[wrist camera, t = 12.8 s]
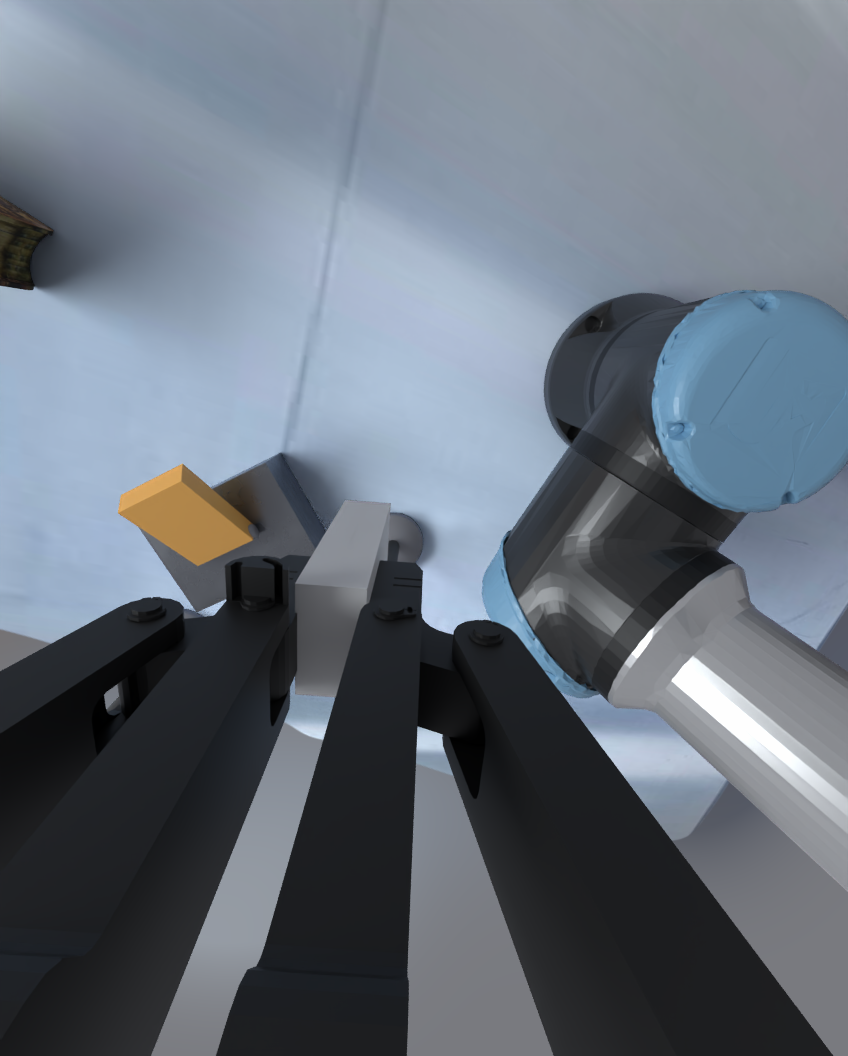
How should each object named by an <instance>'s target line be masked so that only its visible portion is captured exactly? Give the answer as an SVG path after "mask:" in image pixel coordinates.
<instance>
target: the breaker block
mask: <svg viewBox="0 0 848 1056" xmlns="http://www.w3.org/2000/svg"><path fill="white" fill-rule="evenodd" d="M211 489H213V490H214V491H215V492H216V493H217V494H219V495H220V496H221V497H222V498H223V499H224V500H226V501H227V502H228V503H229V504H230V505H231V506H233V507H234V508H235V509H236V510H237V511H238V512H240V513H241V514H242V515H243V516H244V517H245V518H247V519H248V520H249V521H250V522H251V523H252V524H254V525H255V526H256V527H257V529H258V531H259V538H257V539H254V540H252V541H250V542H248V543H246V544H244V545H242V546H240V547H237V548H235V549H233V550H231V551H229V552H227V553H225V554H223V555H220V556H218V557H216V558H214V559H212V560H210V561H208V562H206V563H204V564H201V565H199V566H197V565H195V564H194V563H192V562H191V561H189V560H188V559H186V558H185V557H183V556H182V555H180V554H179V553H177V552H176V551H174V550H173V549H171V548H170V547H168V546H167V545H165V544H164V543H162V542H161V541H159V540H158V539H156V538H155V537H153V536H152V535H150V534H149V533H147V532H146V531H144V530H143V529H141V528H140V527H139V529H140V530H141V532H142V533H143V534H144V536H145V537H146V539H147V540H148V542H149V543H150V545H151V546H152V548H153V549H154V551H155V552H156V553H157V555H158V556H159V558H160V559H161V561H162V562H163V564H164V565H165V567H166V568H167V570H168V571H169V572H170V574H171V575H172V577H173V578H174V580H175V581H176V583H177V584H178V586H179V587H180V589H181V590H182V591H183V593H184V594H185V596H186V597H187V599H188V600H189V602H190V603H191V605H192V606H193V608H194V609H195V610H196V612H199V611H201V610H203V609H205V608H207V607H209V606H212V605H214V604H216V603H218V602H220V601H223V600H225V599H226V581H225V565H226V564H227V563H229V562H230V561H232V560H235V559H239V558H242V557H249V556H270V557H277V558H279V559H281V558H283V557H285V556H287V555H299V556H312V554H313V553H314V551H315V549H316V548H317V546H318V544H319V543H320V541H321V539H322V538H323V536H324V534H325V533H326V532H325V530H324V528H323V526H322V524H321V523H320V521H319V519H318V517H317V516H316V514H315V512H314V510H313V509H312V507H311V505H310V503H309V502H308V500H307V498H306V496H305V495H304V493H303V491H302V489H301V487H300V486H299V484H298V482H297V480H296V479H295V477H294V475H293V473H292V472H291V470H290V468H289V466H288V465H287V463H286V461H285V459H284V457H283V456H282V454H281V453H279V454H277V455H275V456H273V457H271V458H269V459H267V460H265V461H263V462H261V463H259V464H257V465H255V466H253V467H251V468H249V469H247V470H245V471H243V472H241V473H239V474H237V475H235V476H233V477H231V478H229V479H227V480H225V481H223V482H221V483H219V484H217V485H215V486H213V487H211Z"/></svg>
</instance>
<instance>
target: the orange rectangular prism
mask: <svg viewBox="0 0 848 1056" xmlns="http://www.w3.org/2000/svg"><path fill="white" fill-rule="evenodd" d="M118 513H119V514H120V515H122V516H123V517H125V518H126V519H128V520H129V521H131V522H132V523H134V524H135V525H137V526H138V527H140V528H141V529H143V530H144V531H146V532H147V533H149V534H150V535H152V536H153V537H155V538H156V539H158V540H159V541H161V542H162V543H164V544H165V545H167V546H168V547H170V548H171V549H173V550H174V551H176V552H177V553H179V554H180V555H182V556H183V557H185V558H186V559H188V560H189V561H191V562H192V563H194V564H195V565H197V566H199V565H201V564H204V563H206V562H208V561H210V560H212V559H214V558H216V557H218V556H220V555H223V554H225V553H227V552H229V551H231V550H233V549H235V548H237V547H240V546H242V545H244V544H246V543H248V542H250V541H252V540H254V539H257V538H259V531H258V529H257V527H256V526H255V525H254V524H252V523H251V522H250V521H249V520H248V519H247V518H245V517H244V516H243V515H242V514H241V513H240V512H238V511H237V510H236V509H235V508H234V507H233V506H231V505H230V504H229V503H228V502H227V501H226V500H224V499H223V498H222V497H221V496H220V495H219V494H217V493H216V492H215V491H214V490H213V489H211V488H210V487H209V486H208V485H207V484H206V483H204V482H203V481H202V480H201V479H200V478H199V477H197V476H196V475H195V474H194V473H193V472H192V471H190V470H189V469H188V468H187V467H186V466H185V465H183V464H181V465H179V466H177V467H175V468H173V469H171V470H169V471H167V472H165V473H163V474H161V475H159V476H158V477H156V478H154V479H152V480H150V481H148V482H146V483H144V484H142V485H140V486H138V487H136V488H134V489H132V490H130V491H128V492H126V493H124V494H122V495H121V498H120V504H119V510H118Z"/></svg>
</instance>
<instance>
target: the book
mask: <svg viewBox="0 0 848 1056" xmlns="http://www.w3.org/2000/svg"><path fill="white" fill-rule="evenodd" d="M53 232H54V230H52V229H51V228H50V227H48V226H46V225H45V224H43V223H42V222H40V221H39V220H37V219H35V218H34V217H32V216H31V215H29V214H28V213H26V212H24V211H23V210H21V209H20V208H18V207H17V206H15V205H13V204H12V203H10V202H9V201H7V200H5V199H4V198H2V197H1V196H0V286H6V287H12V288H18V289H24V290H33V289H34V286H35V285H34V284H33V282H32V279H31V275H30V259H31V256H32V253H33V251H34V249H35V247H36V246H37V245H38V243H39V242H40V241H41V240H42V239H43V238H44V237H46V236H47V235H52V234H53Z"/></svg>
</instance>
